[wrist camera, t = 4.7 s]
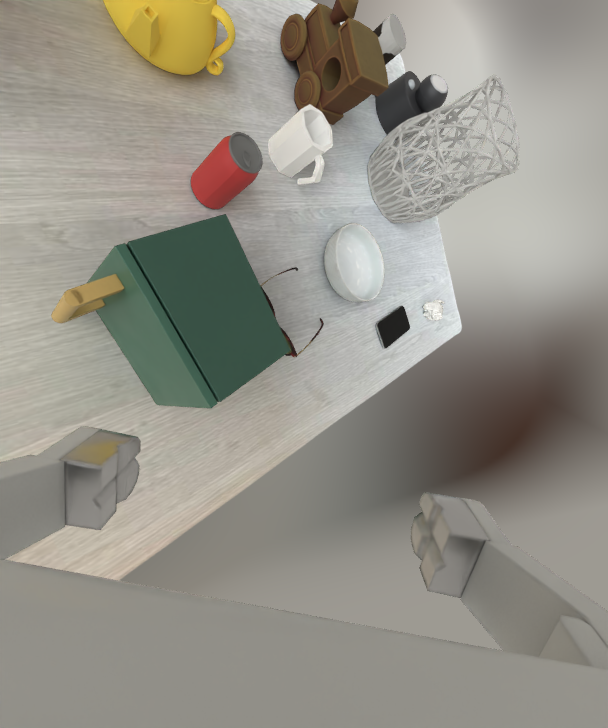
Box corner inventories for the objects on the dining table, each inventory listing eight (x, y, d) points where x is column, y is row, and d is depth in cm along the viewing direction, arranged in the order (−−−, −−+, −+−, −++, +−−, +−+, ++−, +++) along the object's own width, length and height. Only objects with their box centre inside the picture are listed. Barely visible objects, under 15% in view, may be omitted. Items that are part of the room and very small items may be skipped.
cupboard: (164, 400, 49) (220, 402, 36) (91, 285, 43) (128, 241, 31) (226, 360, 56) (291, 350, 44) (170, 258, 51) (225, 213, 38)
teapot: (120, -65, 49) (148, -174, 40) (227, 54, 61) (268, -8, 51) (58, 16, 43) (74, -89, 34) (190, 132, 55) (229, 78, 45)
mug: (261, 134, 65) (294, 101, 57) (291, 136, 70) (325, 106, 63) (283, 197, 67) (317, 173, 60) (310, 194, 73) (344, 172, 66)
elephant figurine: (420, 296, 103) (439, 292, 99) (432, 310, 108) (450, 307, 103) (417, 315, 101) (435, 311, 96) (429, 328, 105) (447, 325, 101)
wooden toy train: (332, 136, 79) (392, 89, 67) (299, 128, 72) (360, 74, 60) (309, 44, 76) (368, -24, 64) (272, 26, 69) (331, -54, 56)
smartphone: (376, 323, 85) (403, 304, 94) (374, 324, 85) (401, 305, 95) (385, 349, 87) (410, 328, 96) (383, 349, 87) (408, 328, 97)
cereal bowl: (310, 225, 72) (334, 212, 67) (358, 243, 83) (382, 233, 78) (315, 302, 71) (339, 295, 66) (362, 310, 83) (387, 304, 78)
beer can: (193, 207, 54) (230, 170, 45) (185, 166, 54) (222, 121, 45) (228, 213, 58) (269, 180, 50) (221, 175, 58) (261, 135, 49)
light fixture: (431, 33, 84) (455, 84, 92) (378, 77, 95) (404, 119, 104) (424, 67, 80) (450, 117, 88) (370, 109, 91) (397, 149, 100)
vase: (416, 190, 106) (525, 135, 84) (402, 248, 98) (519, 204, 76) (373, 124, 92) (491, 38, 70) (353, 185, 84) (479, 109, 62)
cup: (357, 93, 88) (409, 50, 77) (344, 93, 84) (396, 47, 73) (348, 64, 86) (399, 15, 75) (333, 63, 82) (385, 11, 71)
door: (122, 427, 45) (167, 440, 32) (36, 305, 39) (51, 263, 27) (163, 401, 48) (218, 403, 36) (89, 286, 43) (125, 242, 31)
